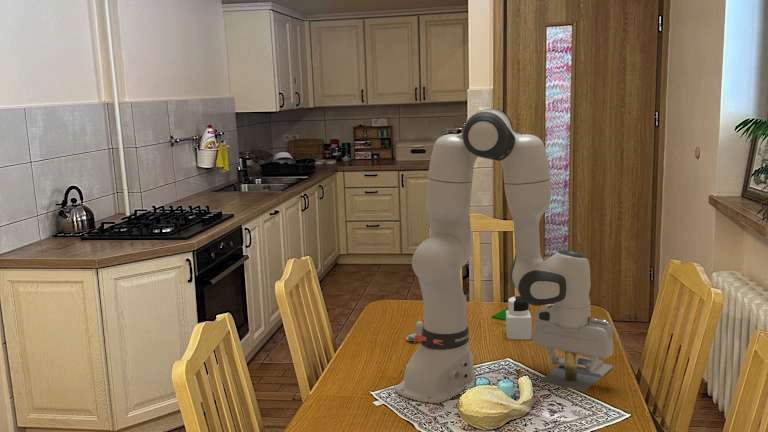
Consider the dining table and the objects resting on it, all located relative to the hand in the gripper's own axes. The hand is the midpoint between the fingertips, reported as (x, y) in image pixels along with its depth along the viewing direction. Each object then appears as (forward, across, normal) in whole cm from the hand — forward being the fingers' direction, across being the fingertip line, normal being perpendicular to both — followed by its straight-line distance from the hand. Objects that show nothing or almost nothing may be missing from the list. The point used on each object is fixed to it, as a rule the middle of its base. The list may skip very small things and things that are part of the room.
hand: (572, 367), depth 179 cm
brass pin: (+3, 0, 0) cm, 3 cm away
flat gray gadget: (+3, 0, -9) cm, 9 cm away
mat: (+5, 0, -5) cm, 7 cm away
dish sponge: (+5, +39, -39) cm, 55 cm away
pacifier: (+4, +53, -6) cm, 53 cm away
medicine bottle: (+5, +28, -25) cm, 38 cm away
